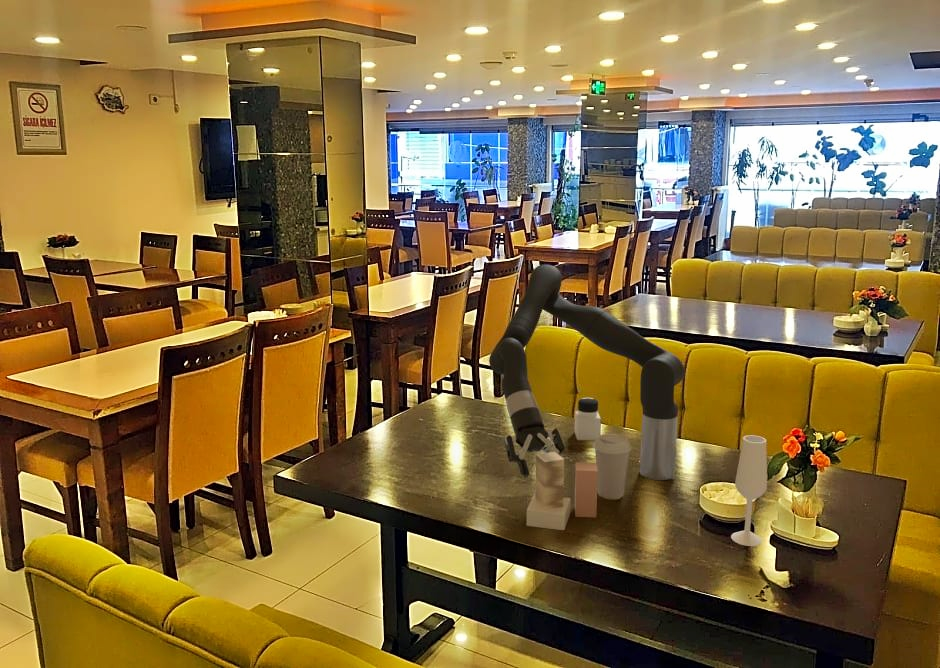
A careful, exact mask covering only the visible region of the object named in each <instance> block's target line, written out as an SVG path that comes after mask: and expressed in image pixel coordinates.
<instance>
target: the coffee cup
mask: <svg viewBox="0 0 940 668" xmlns="http://www.w3.org/2000/svg"><path fill="white" fill-rule="evenodd" d="M592 445H593V448H594V451H595V453H594V454H595V463H597V470H598V478H597V496H599V497H600V496H601V497H600V498H602V497H603V498H602V499H606V500H619V499H621V497H622V498H623V497H624V495H625V494H624V493H625V486H626V479H627V472H628V464H629V457H630V451H632V444H631V442H630V441H629V438H628V437H627V436H625V435H622V434H618V433H603V434H600V436H598V437H597V439H596V440H594V443H593V444H592Z"/></svg>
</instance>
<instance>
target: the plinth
mask: <svg viewBox="0 0 940 668" xmlns="http://www.w3.org/2000/svg"><path fill="white" fill-rule="evenodd" d="M570 515H571V498H570V497H564V496H563V507H558V508H553V509H547V510H544V509H543V508H542V507H541V506H540V505H539V504H538V503H537V502H536V501H535V494H533V495H532V497H531V500H530V502H529V504H528V506H527V508H526V526H527V527H534V528H542V529H550V530H556V531H557V530H558V531H565V529H566V527H567V523H568V521H569V518H570Z"/></svg>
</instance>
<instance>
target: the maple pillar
mask: <svg viewBox="0 0 940 668" xmlns="http://www.w3.org/2000/svg"><path fill="white" fill-rule="evenodd" d="M564 483H565V458H564V457H562V456H561V454H560V455H558V454H557V453H556V452H549V453H545V452H542V453H538V454H537V453H536V454H535V483H534V484H535V487H534V489H535V491H534V492H535V501H536V502H537V503H538V504H539V505H540V506H541V507H542V508H543V509H544V510H547V509H553V508H558V507H563V497H564V492H565V489H564V488H565V485H564Z"/></svg>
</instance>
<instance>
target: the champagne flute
mask: <svg viewBox="0 0 940 668" xmlns="http://www.w3.org/2000/svg"><path fill="white" fill-rule="evenodd" d="M740 448H741V449H740V453H739V460H738V465H737V471H736V476H735V483H734V485H735V486H734V487H735V488H736V490H737V492H738V493H739V494H741V496H742V497H743V498H744V499H746V506H745V507H746V508H745V509H746V510H745V519H744V520H745V521H744V530H740V531H736V532H733V533H732V534H731V535H730V538H731V539H732V541H733V542H735V544H736V543H737V544H739V545H741V546H746V547H757V546H760V545H761V544H762V543H763V539H762V537H760V536H759V535H758V534H755V533H754V532H752V531H751V525H752V524H751V522H752V510H753V501H754V500H756V499H758V498H760V497H762V496H763V495H764V494H765V493H766V491H767V490H768V472H767V471H768V470H767V465H768V464H767V461H768V460H767V439H766V438H764V437H762V436H759V435H753V434H751V435H750V434H749V435H744V436H743V437H742V443H741V447H740Z"/></svg>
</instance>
